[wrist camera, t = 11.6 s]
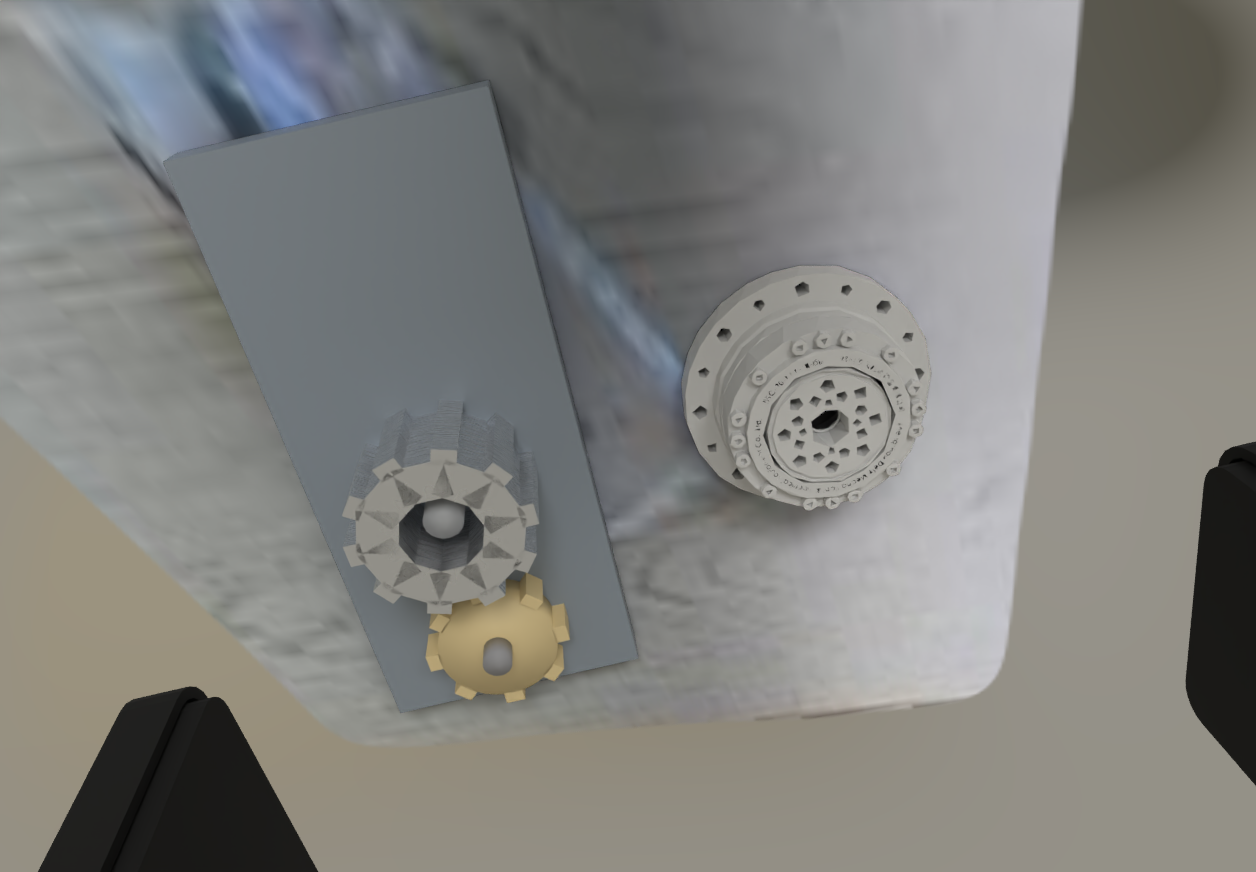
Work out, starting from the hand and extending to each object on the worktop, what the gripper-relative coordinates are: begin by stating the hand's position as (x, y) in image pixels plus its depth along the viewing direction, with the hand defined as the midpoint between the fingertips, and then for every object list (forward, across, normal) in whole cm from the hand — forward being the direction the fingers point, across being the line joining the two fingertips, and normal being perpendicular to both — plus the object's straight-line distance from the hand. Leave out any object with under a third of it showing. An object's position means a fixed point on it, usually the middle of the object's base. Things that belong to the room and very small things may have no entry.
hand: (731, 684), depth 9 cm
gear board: (+28, +8, +10) cm, 31 cm away
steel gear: (+27, +8, +12) cm, 30 cm away
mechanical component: (+29, -7, +12) cm, 32 cm away
